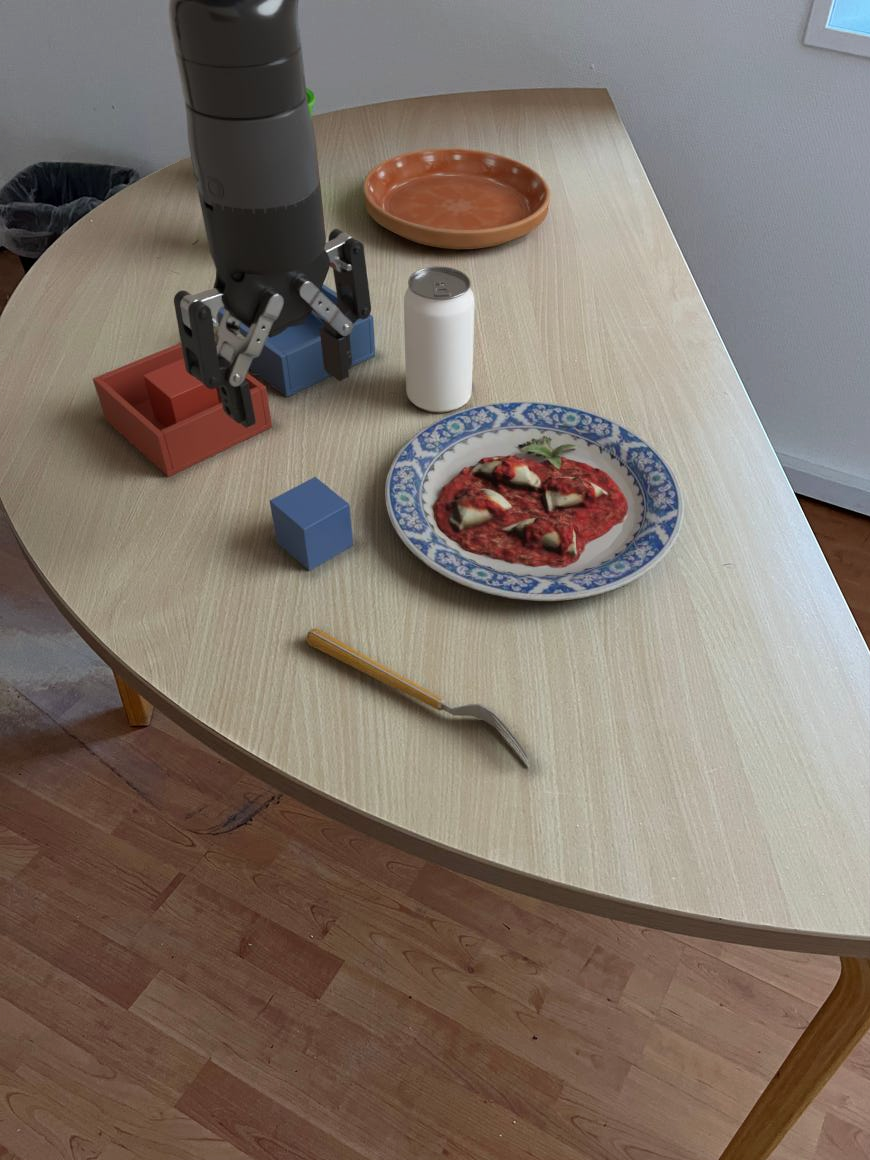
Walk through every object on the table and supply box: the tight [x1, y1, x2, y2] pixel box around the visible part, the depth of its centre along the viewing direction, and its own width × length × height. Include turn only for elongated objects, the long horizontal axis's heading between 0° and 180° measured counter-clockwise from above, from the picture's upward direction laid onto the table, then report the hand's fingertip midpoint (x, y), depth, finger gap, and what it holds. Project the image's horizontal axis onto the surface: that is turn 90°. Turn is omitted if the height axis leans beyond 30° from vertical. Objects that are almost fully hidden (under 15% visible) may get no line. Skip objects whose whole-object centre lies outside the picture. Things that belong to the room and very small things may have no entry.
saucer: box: [362, 147, 551, 250], centre depth 118 cm, size 23×23×4 cm
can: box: [403, 266, 475, 414], centre depth 90 cm, size 6×6×12 cm
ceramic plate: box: [384, 400, 685, 602], centre depth 83 cm, size 26×26×3 cm
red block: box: [143, 358, 219, 427], centre depth 88 cm, size 5×5×5 cm
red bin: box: [92, 342, 273, 478], centre depth 89 cm, size 11×11×4 cm
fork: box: [306, 628, 530, 768], centre depth 70 cm, size 2×2×20 cm
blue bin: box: [217, 283, 376, 398], centre depth 97 cm, size 11×11×4 cm
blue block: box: [269, 476, 354, 571], centre depth 79 cm, size 5×5×5 cm
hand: (291, 398), depth 71 cm, fingers open, 8 cm apart
